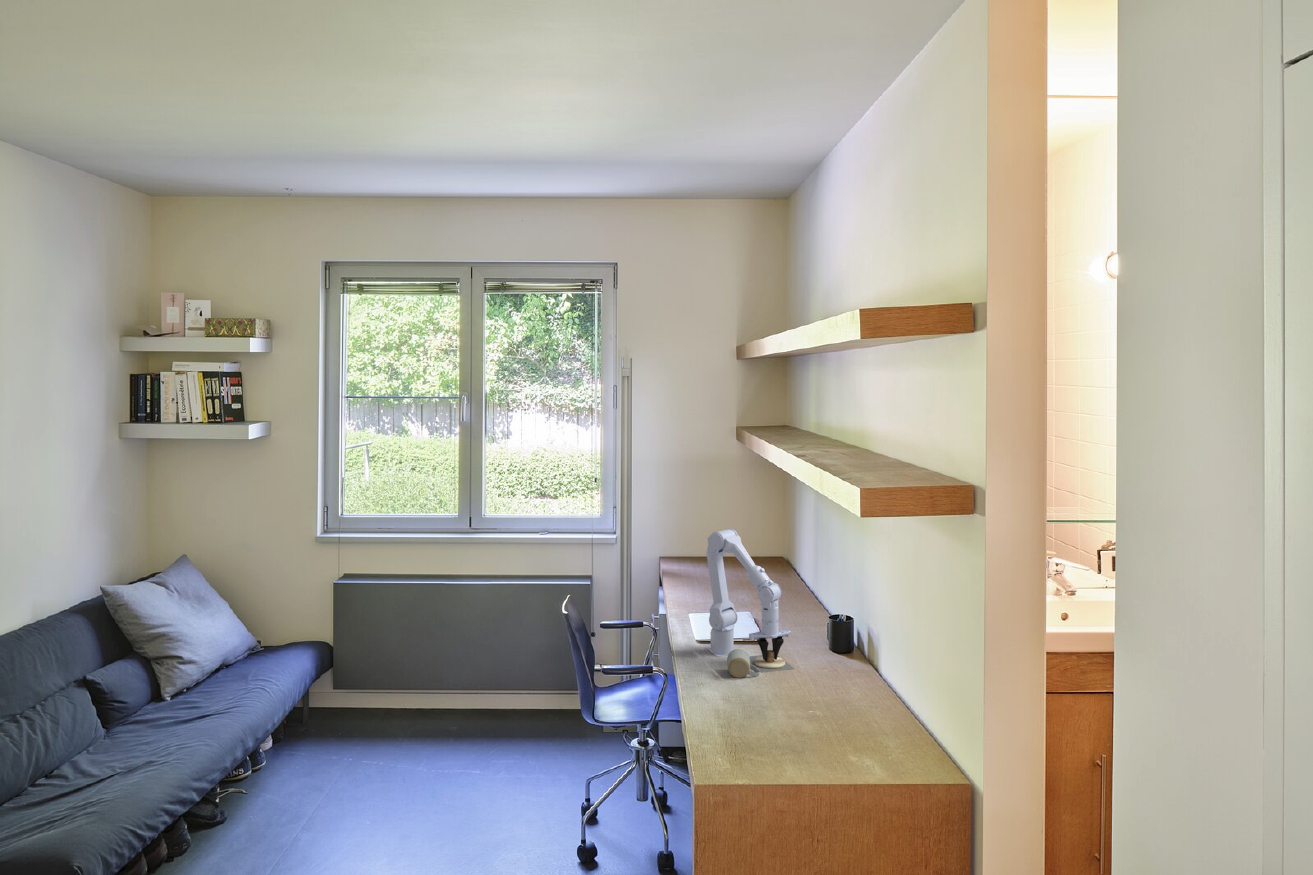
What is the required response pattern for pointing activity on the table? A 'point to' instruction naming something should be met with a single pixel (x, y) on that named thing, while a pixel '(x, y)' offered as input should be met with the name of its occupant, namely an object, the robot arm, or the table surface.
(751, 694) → the table surface
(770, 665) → the lid
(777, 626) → the robot arm
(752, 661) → the mat
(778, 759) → the table surface
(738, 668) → the ceramic mug
